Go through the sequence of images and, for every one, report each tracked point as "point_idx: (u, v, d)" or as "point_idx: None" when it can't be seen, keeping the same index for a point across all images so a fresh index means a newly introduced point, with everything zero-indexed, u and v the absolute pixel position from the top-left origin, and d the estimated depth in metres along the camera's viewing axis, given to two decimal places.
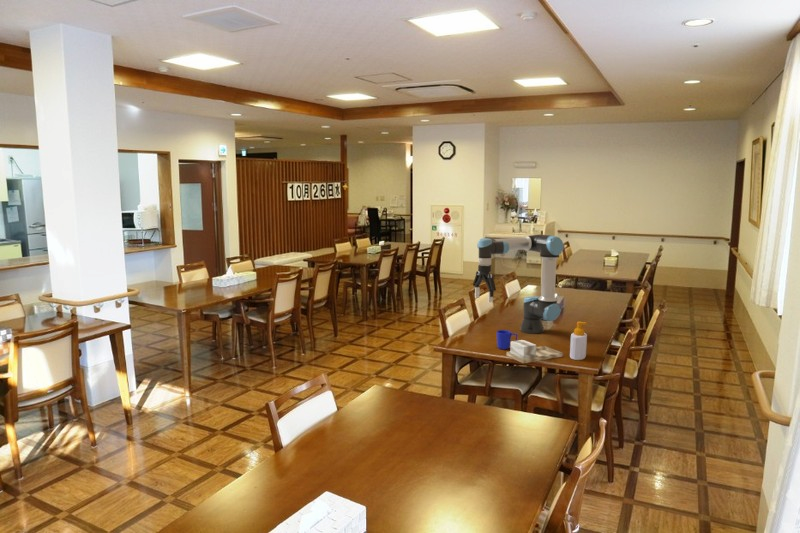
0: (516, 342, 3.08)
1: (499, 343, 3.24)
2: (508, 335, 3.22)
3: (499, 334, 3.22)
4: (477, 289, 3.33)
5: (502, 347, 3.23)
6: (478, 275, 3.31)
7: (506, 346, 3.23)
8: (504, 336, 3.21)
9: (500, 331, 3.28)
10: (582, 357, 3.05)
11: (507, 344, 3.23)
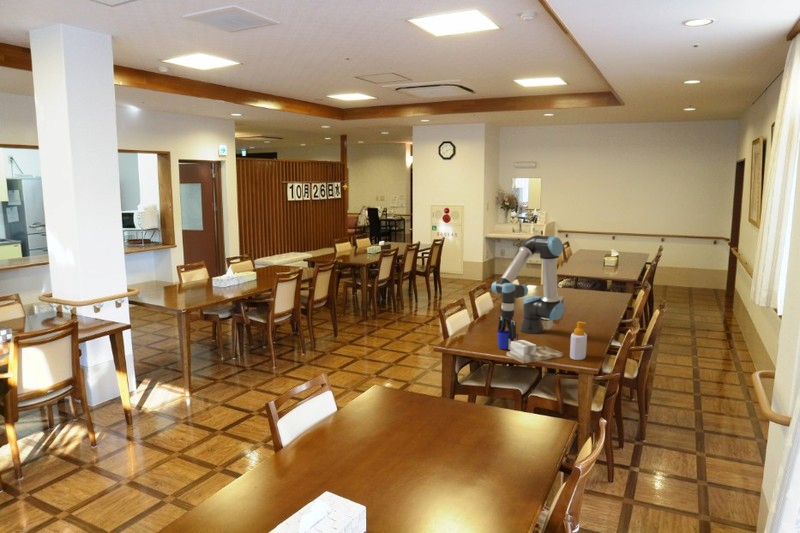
0: (516, 342, 3.08)
1: (500, 343, 3.23)
2: None
3: (500, 334, 3.22)
4: None
5: (503, 347, 3.22)
6: (501, 320, 3.28)
7: (507, 346, 3.22)
8: (505, 336, 3.21)
9: None
10: (582, 357, 3.05)
11: (508, 344, 3.22)
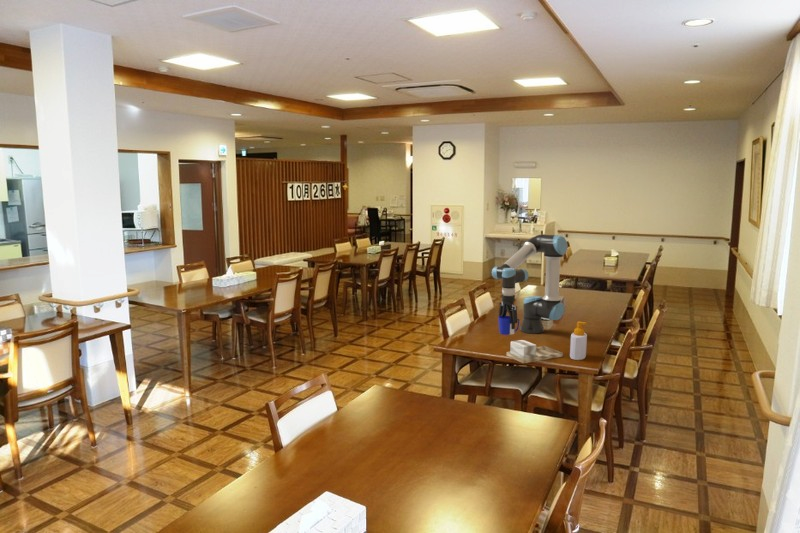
0: (516, 342, 3.08)
1: (501, 329, 3.22)
2: None
3: (501, 320, 3.20)
4: None
5: (504, 332, 3.21)
6: (502, 306, 3.27)
7: (508, 331, 3.21)
8: (506, 321, 3.19)
9: (502, 317, 3.26)
10: (582, 357, 3.05)
11: (509, 329, 3.21)
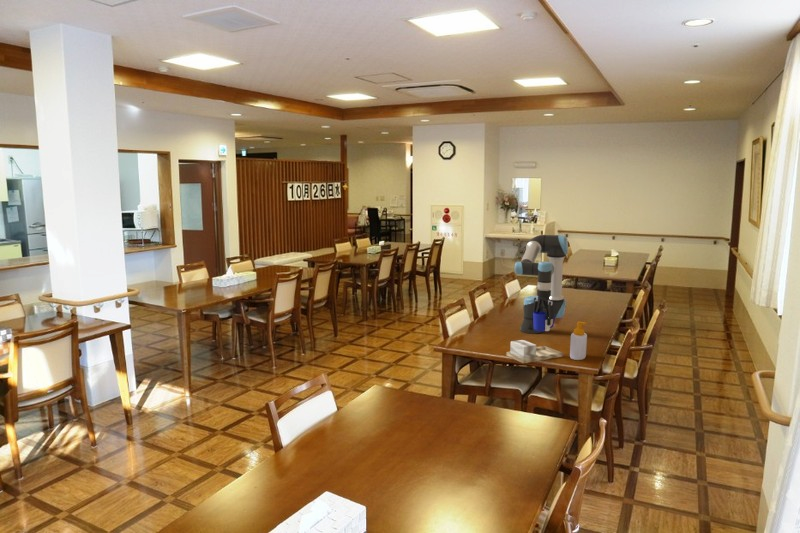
0: (516, 342, 3.08)
1: (536, 325, 3.09)
2: None
3: (536, 315, 3.07)
4: None
5: (539, 329, 3.08)
6: (537, 301, 3.14)
7: (543, 328, 3.08)
8: (541, 317, 3.06)
9: (536, 313, 3.13)
10: (582, 357, 3.05)
11: (544, 326, 3.08)
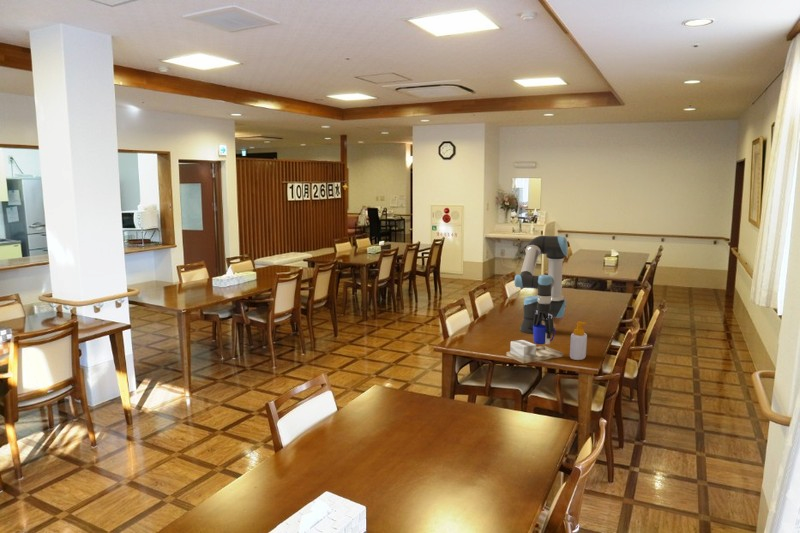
0: (516, 342, 3.08)
1: (536, 338, 3.09)
2: None
3: (536, 328, 3.08)
4: None
5: (539, 342, 3.09)
6: (536, 314, 3.15)
7: (543, 341, 3.09)
8: (541, 330, 3.07)
9: (536, 325, 3.14)
10: (582, 357, 3.05)
11: (544, 339, 3.09)
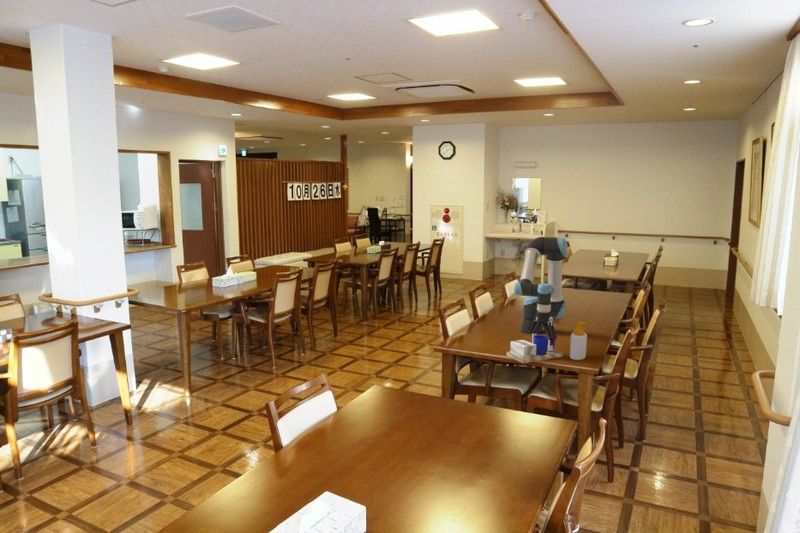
0: (516, 342, 3.08)
1: (536, 349, 3.10)
2: (546, 340, 3.08)
3: (537, 340, 3.09)
4: (534, 335, 3.18)
5: (540, 353, 3.10)
6: (536, 321, 3.16)
7: (544, 352, 3.10)
8: (542, 342, 3.08)
9: (536, 336, 3.15)
10: (582, 357, 3.05)
11: (545, 350, 3.10)
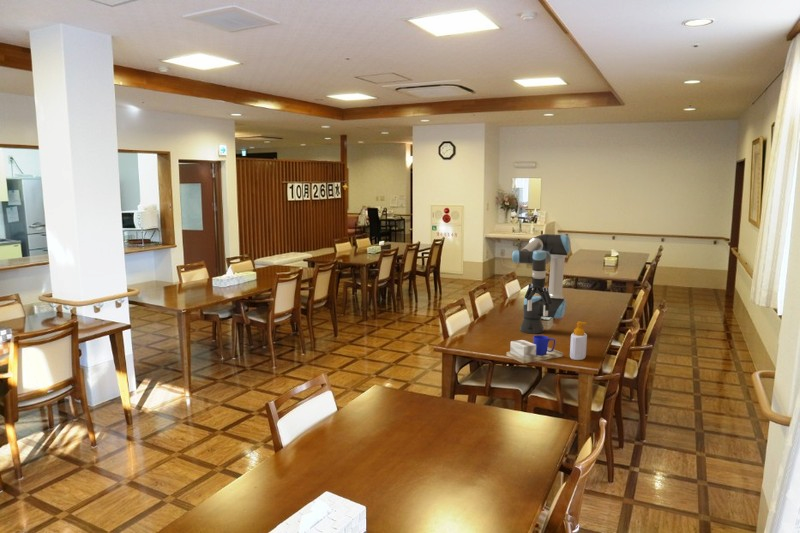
0: (516, 342, 3.08)
1: (536, 349, 3.10)
2: (546, 340, 3.09)
3: (537, 340, 3.09)
4: (529, 302, 3.25)
5: (540, 353, 3.10)
6: (531, 288, 3.23)
7: (544, 352, 3.10)
8: (542, 342, 3.08)
9: (536, 336, 3.15)
10: (582, 357, 3.05)
11: (545, 350, 3.10)
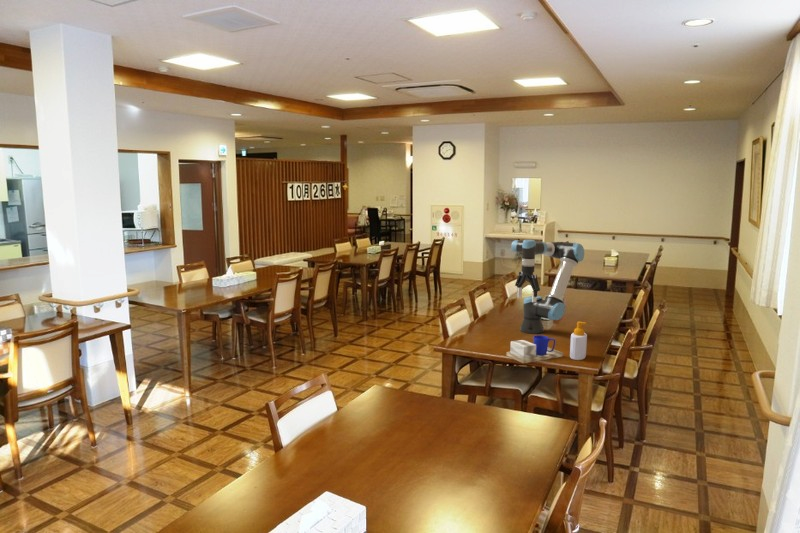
0: (516, 342, 3.08)
1: (536, 349, 3.10)
2: (546, 340, 3.09)
3: (537, 340, 3.09)
4: (520, 289, 3.39)
5: (540, 353, 3.10)
6: (521, 275, 3.38)
7: (544, 352, 3.10)
8: (542, 342, 3.08)
9: (536, 336, 3.15)
10: (582, 357, 3.05)
11: (545, 350, 3.10)
